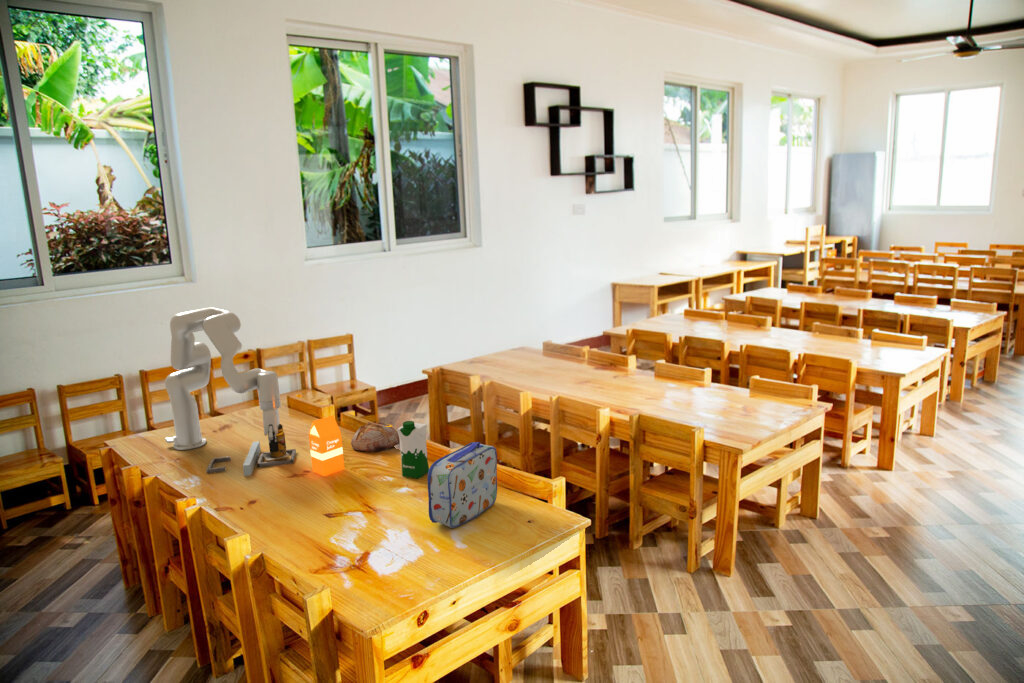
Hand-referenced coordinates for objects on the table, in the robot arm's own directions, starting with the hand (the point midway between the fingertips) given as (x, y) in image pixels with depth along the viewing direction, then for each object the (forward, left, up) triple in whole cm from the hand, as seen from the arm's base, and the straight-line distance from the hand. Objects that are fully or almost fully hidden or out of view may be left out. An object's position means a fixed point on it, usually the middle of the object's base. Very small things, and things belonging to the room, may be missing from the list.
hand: (275, 448), depth 274 cm
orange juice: (+20, -17, -5) cm, 27 cm away
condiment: (0, 0, -3) cm, 3 cm away
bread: (+38, +4, -5) cm, 39 cm away
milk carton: (+51, -31, -5) cm, 60 cm away
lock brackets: (-9, 0, -5) cm, 10 cm away
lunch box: (+64, -68, -5) cm, 94 cm away
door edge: (-9, 0, -5) cm, 10 cm away
